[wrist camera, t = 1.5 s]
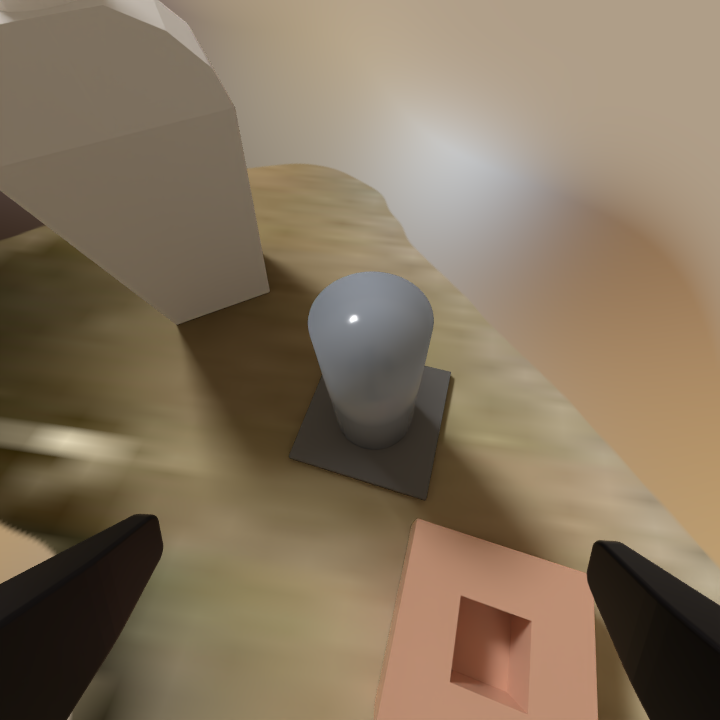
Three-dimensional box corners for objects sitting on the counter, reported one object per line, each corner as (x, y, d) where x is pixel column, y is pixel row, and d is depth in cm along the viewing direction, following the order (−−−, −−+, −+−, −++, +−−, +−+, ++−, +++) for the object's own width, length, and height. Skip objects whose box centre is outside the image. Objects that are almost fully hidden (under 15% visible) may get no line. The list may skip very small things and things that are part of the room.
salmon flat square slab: (554, 785, 14) (602, 847, 11) (374, 704, 16) (373, 739, 13) (557, 572, 18) (592, 575, 15) (411, 524, 19) (417, 518, 16)
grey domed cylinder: (402, 459, 21) (419, 386, 12) (325, 437, 22) (288, 354, 13) (419, 388, 23) (443, 283, 14) (350, 371, 24) (332, 262, 15)
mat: (425, 500, 20) (426, 499, 20) (289, 458, 22) (288, 456, 21) (450, 374, 24) (450, 371, 24) (335, 347, 26) (334, 344, 26)
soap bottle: (264, 225, 34) (53, -378, 12) (294, 290, 29) (32, -519, 7) (143, 263, 32) (-375, -376, 10) (153, 341, 27) (-802, -570, 5)
